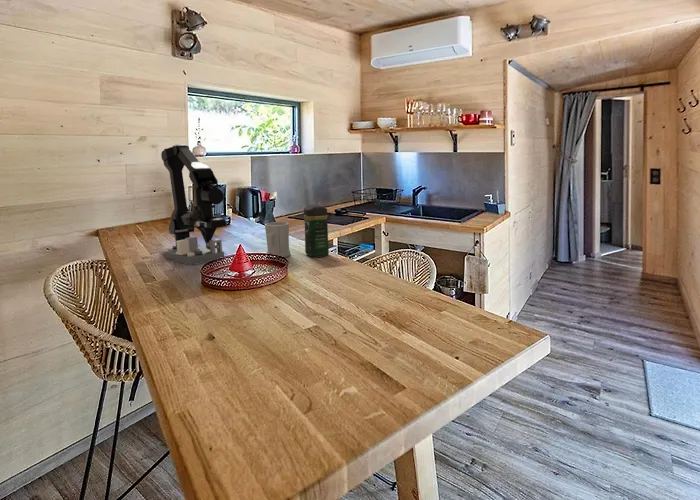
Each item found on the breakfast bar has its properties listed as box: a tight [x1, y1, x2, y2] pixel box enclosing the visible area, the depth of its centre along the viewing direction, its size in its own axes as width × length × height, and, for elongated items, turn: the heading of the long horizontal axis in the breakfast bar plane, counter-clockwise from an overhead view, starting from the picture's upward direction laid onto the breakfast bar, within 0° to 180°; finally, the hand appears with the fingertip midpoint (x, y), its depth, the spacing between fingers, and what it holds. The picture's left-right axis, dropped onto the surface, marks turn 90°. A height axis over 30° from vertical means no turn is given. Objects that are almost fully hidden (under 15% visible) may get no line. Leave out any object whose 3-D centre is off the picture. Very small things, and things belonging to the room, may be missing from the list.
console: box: [165, 238, 225, 266], centre depth 172 cm, size 18×14×7 cm
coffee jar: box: [303, 204, 330, 258], centre depth 171 cm, size 10×8×19 cm
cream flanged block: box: [175, 239, 191, 255], centre depth 167 cm, size 4×4×5 cm
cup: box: [264, 221, 291, 258], centre depth 171 cm, size 10×9×12 cm
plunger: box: [205, 241, 219, 250], centre depth 171 cm, size 6×3×3 cm, turn 48°
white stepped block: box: [185, 236, 200, 252], centre depth 172 cm, size 4×4×5 cm
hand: (207, 244), depth 173 cm, fingers closed
